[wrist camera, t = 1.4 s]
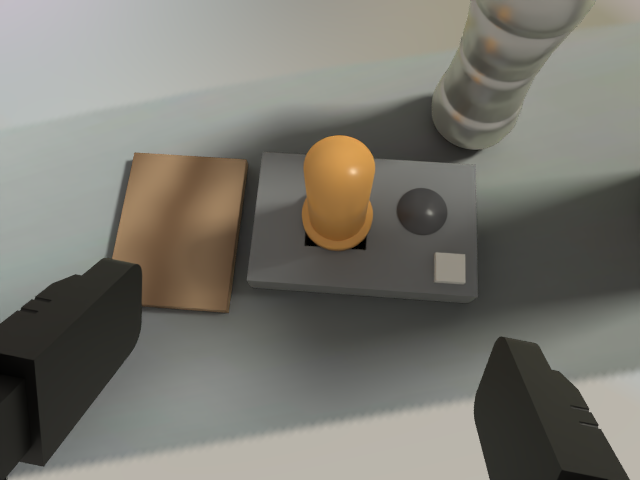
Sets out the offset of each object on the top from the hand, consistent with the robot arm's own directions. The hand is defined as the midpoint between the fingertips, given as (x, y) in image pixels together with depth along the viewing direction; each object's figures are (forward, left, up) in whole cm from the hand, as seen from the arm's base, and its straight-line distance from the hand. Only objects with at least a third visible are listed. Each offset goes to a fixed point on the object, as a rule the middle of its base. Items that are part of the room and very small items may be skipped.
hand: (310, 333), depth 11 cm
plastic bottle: (-10, -21, -25) cm, 34 cm away
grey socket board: (-2, -11, -25) cm, 27 cm away
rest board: (+12, -10, -25) cm, 29 cm away
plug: (0, -11, -25) cm, 27 cm away
